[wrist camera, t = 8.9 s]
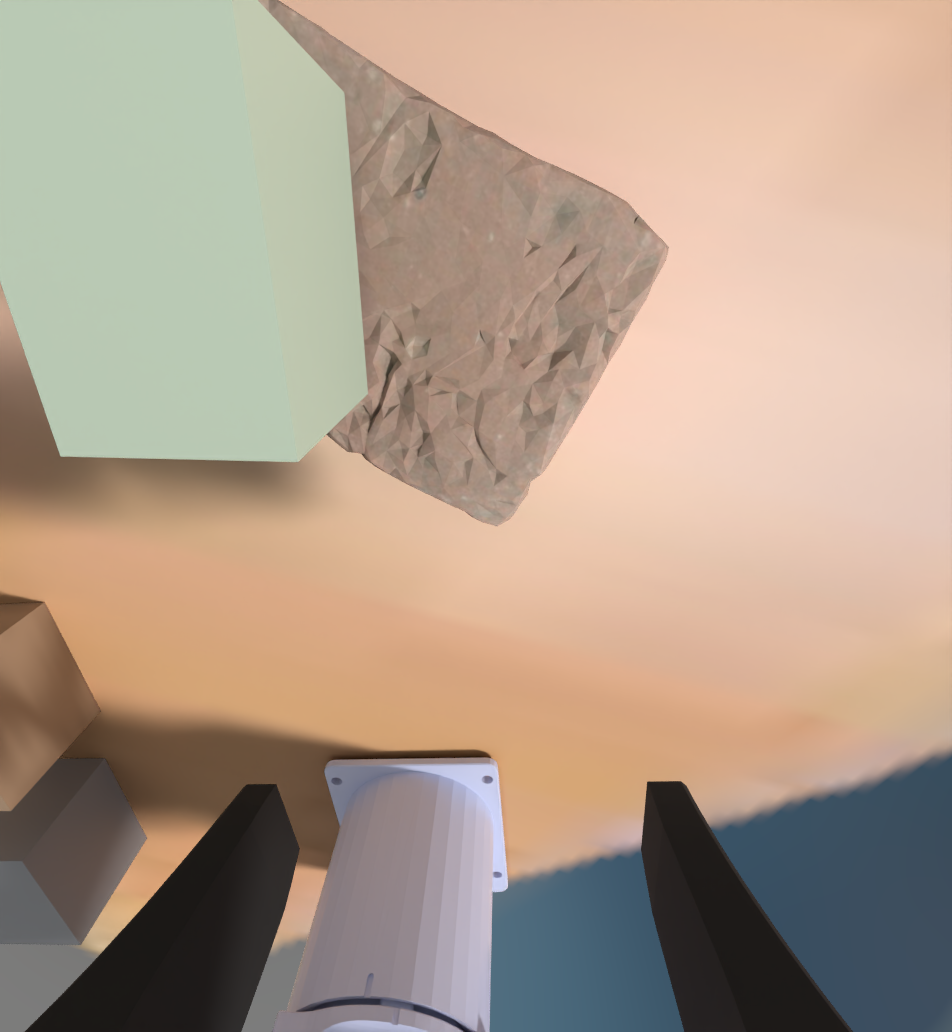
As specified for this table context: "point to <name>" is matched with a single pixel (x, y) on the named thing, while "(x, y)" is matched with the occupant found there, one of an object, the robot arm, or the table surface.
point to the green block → (177, 229)
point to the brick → (473, 289)
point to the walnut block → (36, 698)
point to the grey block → (64, 853)
